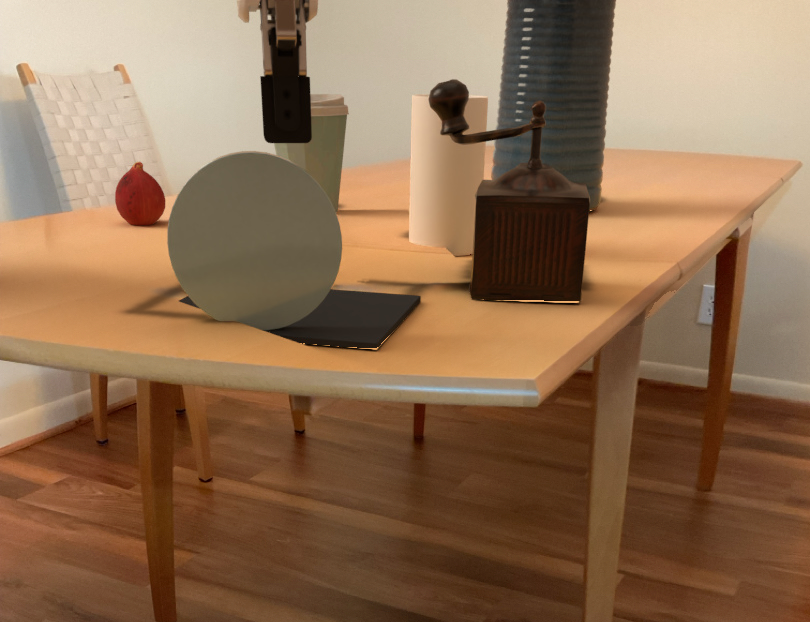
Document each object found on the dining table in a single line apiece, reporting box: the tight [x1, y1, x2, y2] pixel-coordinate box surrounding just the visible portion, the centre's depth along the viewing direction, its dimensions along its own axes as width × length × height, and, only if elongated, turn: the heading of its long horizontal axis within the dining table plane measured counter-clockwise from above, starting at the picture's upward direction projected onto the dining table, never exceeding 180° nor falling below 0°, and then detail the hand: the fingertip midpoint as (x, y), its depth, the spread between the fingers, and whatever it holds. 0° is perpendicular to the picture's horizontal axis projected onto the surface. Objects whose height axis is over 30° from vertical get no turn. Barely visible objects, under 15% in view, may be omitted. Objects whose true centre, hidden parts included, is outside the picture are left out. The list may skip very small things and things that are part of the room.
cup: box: [408, 93, 489, 257], centre depth 102 cm, size 8×8×16 cm
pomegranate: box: [114, 161, 166, 227], centre depth 110 cm, size 6×6×8 cm
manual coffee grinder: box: [428, 78, 590, 302], centre depth 85 cm, size 16×11×18 cm
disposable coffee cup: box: [273, 93, 350, 213], centre depth 120 cm, size 11×11×15 cm
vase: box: [490, 0, 617, 211], centre depth 128 cm, size 16×16×32 cm
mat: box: [178, 288, 422, 348], centre depth 78 cm, size 20×16×1 cm
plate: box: [166, 150, 343, 332], centre depth 69 cm, size 1×13×13 cm, turn 99°
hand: (287, 141), depth 62 cm, fingers closed
